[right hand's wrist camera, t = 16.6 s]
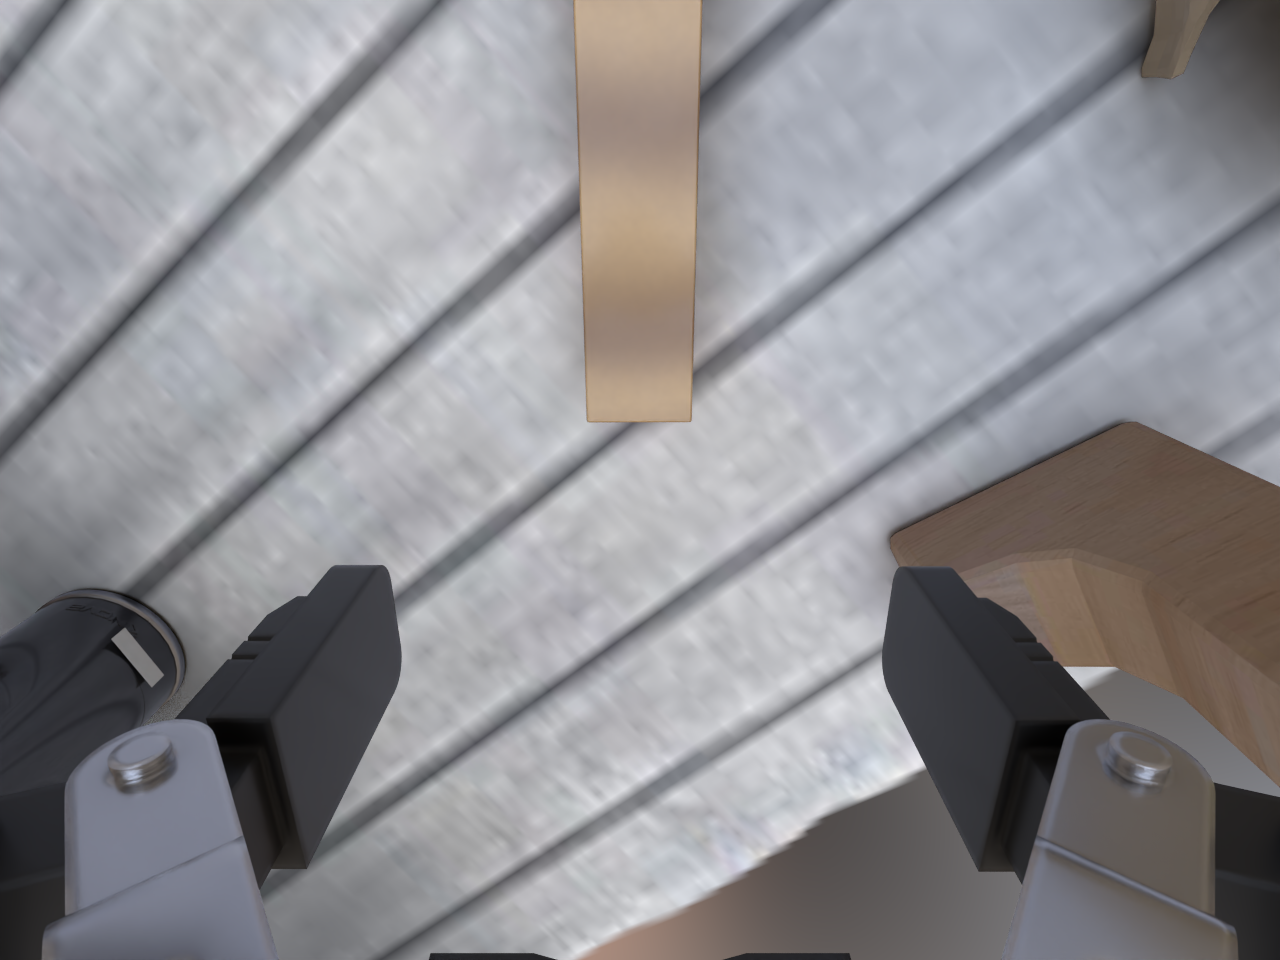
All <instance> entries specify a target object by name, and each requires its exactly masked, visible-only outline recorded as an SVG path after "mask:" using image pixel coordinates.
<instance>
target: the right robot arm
mask: <svg viewBox="0 0 1280 960" xmlns="http://www.w3.org/2000/svg"><path fill="white" fill-rule="evenodd" d="M401 657H402V656H401V644H400V638H399V631H398V624H397V618H396V611H395V604H394V598H393V591H392V584H391V579H390V575H389V572H388V570H387V568H386V567H385V566H383V565H335V566H333V567H331V568H330V569H329V571H328V572H327V573H326V574H325V575H324V577H323V578H322V579H321V580H320V581H319V583H318V584H317V585H316V586H315V587H314V589H313V590H312V591H311V592H310V593H309V595H308V596H297V597H296V598H294V599H292V600H291V601H289V602H288V603H286V604H284V605H283V606H281V607H279V608H278V609H276V610H275V611H273V612H271V613H270V614H268V615H267V616H266V617H265V618H264V619H263V620H262V622H261V623H260V624H259V625H258V626H257V627H256V628H255V629H254V631H253V632H252V633H251V634H250V635H249V636H248V641H244V642H243V643H242V644H241V645H240V646H239V647H238V649H237V650H236V651H235V652H234V653H233V654H232V659H228V660H227V661H226V662H225V663H224V664H223V665H222V666H221V668H220V669H219V670H218V671H217V672H216V673H215V674H214V675H213V677H212V678H211V679H210V680H209V681H208V682H207V683H206V684H205V686H204V687H203V688H202V689H201V690H200V691H199V692H198V693H197V695H196V696H195V697H194V698H193V699H192V700H191V701H190V702H189V704H188V705H187V706H186V707H185V708H184V709H183V710H182V711H181V712H180V714H179V715H178V716H177V717H176V718H175V719H174V720H166V721H160V722H156V723H151V724H148V725H145V726H143V725H144V724H145V723H146V722H147V721H148V720H149V719H150V718H151V717H152V716H153V715H154V714H155V712H156V711H157V710H158V709H160V708H161V707H162V706H164V705H165V704H166V703H167V702H168V701H169V700H170V699H171V698H172V697H173V696H174V694H175V693H176V692H177V691H178V689H179V688H180V686H181V683H182V681H183V678H184V672H185V662H184V656H183V652H182V649H181V647H180V644H179V642H178V640H177V639H176V637H175V635H174V634H173V632H172V631H171V630H170V628H169V627H168V626H167V625H166V624H165V623H164V622H163V621H162V620H161V619H160V618H159V617H158V616H157V615H156V614H155V613H153V612H152V611H151V610H149V609H148V608H146V607H145V606H143V605H141V604H140V603H138V602H136V601H134V600H132V599H129V598H127V597H125V596H122V595H119V594H115V593H112V592H107V591H101V590H77V591H71V592H67V593H65V594H62V595H60V596H57V597H55V598H54V599H52V600H51V601H49V602H48V603H46V604H45V605H43V606H42V607H41V608H40V609H38V610H37V611H36V613H35V614H33V615H32V616H30V617H29V618H28V619H26V620H25V621H23V622H22V623H20V624H19V625H17V626H16V627H14V628H13V629H12V630H10V631H9V632H7V633H6V634H4V635H2V636H1V637H0V960H279V958H278V955H277V951H276V948H275V944H274V941H273V937H272V934H271V930H270V927H269V923H268V920H267V916H266V912H265V909H264V905H263V902H262V898H261V895H260V891H259V890H260V888H261V886H262V885H263V883H264V881H265V879H266V877H267V875H268V874H269V872H270V870H271V869H307V867H308V865H309V863H310V861H311V859H312V857H313V855H314V853H315V851H316V849H317V847H318V845H319V843H320V841H321V839H322V837H323V835H324V833H325V831H326V829H327V827H328V825H329V823H330V821H331V819H332V817H333V815H334V813H335V811H336V809H337V807H338V805H339V803H340V801H341V799H342V797H343V795H344V793H345V791H346V789H347V787H348V785H349V783H350V781H351V779H352V777H353V775H354V773H355V771H356V769H357V766H358V764H359V762H360V760H361V758H362V756H363V754H364V752H365V750H366V748H367V746H368V744H369V742H370V740H371V738H372V736H373V734H374V732H375V730H376V728H377V726H378V724H379V722H380V720H381V718H382V716H383V714H384V712H385V710H386V708H387V706H388V704H389V702H390V700H391V698H392V696H393V694H394V692H395V690H396V687H397V684H398V681H399V677H400V671H401ZM882 667H883V675H884V680H885V684H886V687H887V689H888V692H889V694H890V696H891V698H892V700H893V702H894V704H895V706H896V708H897V710H898V712H899V714H900V716H901V718H902V720H903V722H904V724H905V726H906V728H907V730H908V732H909V734H910V736H911V738H912V740H913V742H914V744H915V746H916V748H917V750H918V752H919V754H920V756H921V758H922V760H923V762H924V764H925V766H926V768H927V770H928V772H929V774H930V776H931V778H932V779H933V781H934V783H935V785H936V787H937V789H938V791H939V793H940V795H941V797H942V799H943V801H944V803H945V805H946V807H947V809H948V811H949V813H950V815H951V817H952V819H953V821H954V823H955V825H956V827H957V829H958V831H959V833H960V835H961V837H962V839H963V841H964V843H965V845H966V847H967V849H968V851H969V853H970V855H971V857H972V859H973V861H974V863H975V865H976V867H977V869H978V871H979V872H1015V873H1016V875H1017V877H1018V878H1019V880H1020V882H1021V884H1022V888H1021V892H1020V895H1019V898H1018V902H1017V905H1016V909H1015V912H1014V916H1013V920H1012V923H1011V927H1010V930H1009V934H1008V937H1007V941H1006V944H1005V948H1004V951H1003V955H1002V958H1001V960H1280V797H1276V796H1272V795H1267V794H1263V793H1258V792H1253V791H1249V790H1244V789H1240V788H1235V787H1231V786H1226V785H1222V784H1218V783H1214V782H1213V781H1212V779H1211V776H1210V775H1209V774H1208V772H1207V771H1206V769H1205V768H1204V767H1203V766H1202V765H1201V764H1200V763H1199V762H1198V761H1197V760H1196V759H1195V758H1194V757H1193V756H1192V755H1190V754H1189V753H1188V752H1187V751H1185V750H1184V749H1182V748H1181V747H1180V746H1178V745H1177V744H1175V743H1173V742H1172V741H1170V740H1168V739H1166V738H1164V737H1162V736H1160V735H1158V734H1156V733H1154V732H1152V731H1149V730H1147V729H1144V728H1141V727H1138V726H1135V725H1132V724H1129V723H1124V722H1119V721H1113V720H1110V719H1109V718H1108V717H1107V716H1106V715H1105V713H1104V712H1103V711H1102V710H1101V709H1100V708H1099V707H1098V706H1097V705H1096V703H1095V702H1094V701H1093V700H1092V699H1091V698H1090V697H1089V696H1088V695H1087V693H1086V692H1085V691H1084V690H1083V689H1082V688H1081V687H1080V686H1079V685H1078V683H1077V682H1076V681H1075V680H1074V679H1073V678H1072V677H1071V676H1070V674H1069V673H1068V672H1067V671H1066V670H1065V669H1064V668H1063V667H1062V666H1061V664H1060V663H1059V662H1058V661H1054V660H1053V656H1052V654H1051V653H1050V652H1049V651H1048V650H1047V649H1046V648H1045V647H1044V646H1043V644H1042V643H1037V638H1036V637H1035V636H1034V634H1033V633H1032V632H1031V631H1030V630H1029V629H1028V628H1027V627H1026V626H1025V624H1024V623H1023V622H1022V621H1021V620H1020V619H1019V618H1018V617H1017V616H1016V615H1014V614H1013V613H1011V612H1009V611H1008V610H1006V609H1004V608H1003V607H1001V606H1000V605H998V604H996V603H995V602H993V601H991V600H990V599H988V598H977V596H976V595H975V594H974V593H973V592H972V590H971V589H970V588H969V587H968V586H967V584H966V583H965V582H964V581H963V580H962V579H961V577H960V576H959V575H958V574H957V573H956V571H955V570H954V569H953V568H951V567H948V566H901V567H899V568H898V569H897V571H896V573H895V575H894V579H893V584H892V591H891V597H890V604H889V611H888V617H887V624H886V630H885V637H884V643H883V651H882ZM429 960H556V959H552V958H549V957H545V956H541V955H538V954H534V953H431V954H430V958H429ZM724 960H851V958H850V954H849V953H746V954H742V955H739V956H735V957H731V958H728V959H724Z"/></svg>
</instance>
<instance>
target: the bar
mask: <svg viewBox="0 0 1280 960" xmlns="http://www.w3.org/2000/svg"><path fill="white" fill-rule="evenodd" d="M573 5H574V36H575V67H576V98H577V129H578V160H579V191H580V223H581V254H582V285H583V316H584V347H585V378H586V409H587V422H691V420H692V384H693V345H694V306H695V268H696V229H697V190H698V151H699V112H700V73H701V34H702V0H573Z"/></svg>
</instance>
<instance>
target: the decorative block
mask: <svg viewBox="0 0 1280 960" xmlns="http://www.w3.org/2000/svg"><path fill="white" fill-rule="evenodd" d="M890 542H891V550H892V552H893V554H894V556H895V558H896V560H897V562H898V564H899V566H900V567H901V566H948V567H951V568H953V569H954V570H955V571H956V573H957V574H958V575H959V576H960V577H961V579H962V580H963V581H964V582H965V583H966V584H967V586H968V587H969V588H970V589H971V590H972V592H973V593H974V594H975V595H976V596H977V598H988V599H990V600H991V601H993V602H995V603H996V604H998V605H1000V606H1001V607H1003V608H1004V609H1006V610H1008V611H1009V612H1011V613H1013V614H1014V615H1016V616H1017V617H1018V618H1019V619H1020V620H1021V621H1022V622H1023V623H1024V624H1025V626H1026V627H1027V628H1028V629H1029V630H1030V631H1031V632H1032V633H1033V634H1034V636H1035V637H1036V638H1037V643H1042V644H1043V646H1044V647H1045V648H1046V649H1047V650H1048V651H1049V652H1050V653H1051V654H1052V656H1053V660H1054V661H1058V662H1059V663H1060V664H1061V666H1067V667H1117V668H1119V669H1121V670H1123V671H1125V672H1128V673H1130V674H1132V675H1134V676H1136V677H1138V678H1141V679H1143V680H1145V681H1147V682H1149V683H1152V684H1154V685H1156V686H1158V687H1160V688H1162V689H1165V690H1167V691H1169V692H1171V693H1173V694H1175V695H1178V696H1180V697H1182V698H1184V699H1185V700H1186V701H1187V702H1188V703H1189V704H1190V705H1191V706H1192V707H1193V708H1194V709H1195V710H1197V711H1198V712H1199V713H1200V714H1201V715H1202V716H1203V717H1204V718H1205V719H1206V720H1207V721H1208V722H1210V723H1211V724H1212V725H1213V726H1214V727H1215V728H1216V729H1217V730H1218V731H1219V732H1220V733H1221V734H1223V735H1224V736H1225V737H1226V738H1227V739H1228V740H1229V741H1230V742H1231V743H1232V744H1233V745H1234V746H1236V747H1237V748H1238V749H1239V750H1240V751H1241V752H1242V753H1243V754H1244V755H1245V756H1246V757H1247V758H1248V759H1250V760H1251V761H1252V762H1253V763H1254V764H1255V765H1256V766H1257V767H1258V768H1259V769H1260V770H1261V771H1263V772H1264V773H1265V774H1266V775H1267V776H1268V777H1269V778H1270V779H1271V780H1272V781H1273V782H1274V783H1275V784H1277V785H1278V786H1279V787H1280V487H1279V486H1276V485H1274V484H1272V483H1270V482H1268V481H1265V480H1263V479H1261V478H1259V477H1257V476H1254V475H1252V474H1250V473H1248V472H1246V471H1243V470H1241V469H1239V468H1237V467H1235V466H1232V465H1230V464H1228V463H1226V462H1224V461H1221V460H1219V459H1217V458H1215V457H1213V456H1210V455H1208V454H1206V453H1204V452H1202V451H1199V450H1197V449H1195V448H1193V447H1191V446H1188V445H1186V444H1184V443H1182V442H1180V441H1177V440H1175V439H1173V438H1171V437H1169V436H1166V435H1164V434H1162V433H1160V432H1158V431H1155V430H1153V429H1151V428H1149V427H1147V426H1144V425H1142V424H1140V423H1138V422H1128V423H1122V424H1120V425H1118V426H1116V427H1114V428H1112V429H1110V430H1108V431H1106V432H1104V433H1102V434H1100V435H1098V436H1095V437H1093V438H1091V439H1089V440H1087V441H1085V442H1083V443H1081V444H1079V445H1077V446H1075V447H1073V448H1071V449H1069V450H1067V451H1064V452H1062V453H1060V454H1058V455H1056V456H1054V457H1052V458H1050V459H1048V460H1046V461H1044V462H1042V463H1040V464H1038V465H1036V466H1033V467H1031V468H1029V469H1027V470H1025V471H1023V472H1021V473H1019V474H1017V475H1015V476H1013V477H1011V478H1009V479H1007V480H1005V481H1003V482H1000V483H998V484H996V485H994V486H992V487H990V488H988V489H986V490H984V491H982V492H980V493H978V494H976V495H974V496H971V497H969V498H967V499H965V500H963V501H961V502H959V503H957V504H955V505H953V506H951V507H949V508H947V509H945V510H943V511H940V512H938V513H936V514H934V515H932V516H930V517H928V518H926V519H924V520H922V521H920V522H918V523H916V524H914V525H911V526H909V527H907V528H905V529H903V530H901V531H899V532H897V533H895V534H894V535H893V536H892V537H891V538H890Z"/></svg>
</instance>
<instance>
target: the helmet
mask: <svg viewBox="0 0 1280 960" xmlns="http://www.w3.org/2000/svg"><path fill="white" fill-rule="evenodd" d="M1219 1H1220V0H1156V11H1155V26H1154V36H1153V39H1152V41H1151V44H1150V47H1149V50H1148V52H1147V55H1146V58H1145V61H1144V63H1143V66H1142V77H1159V78H1167V79H1172V78H1174V77H1177V76H1179V75H1181V74H1183V73H1184V71H1185V68H1186V66H1187V63H1188V61H1189V58H1190V56H1191V53H1192V51H1193V49H1194V47H1195V45H1196V43H1197V40H1198V38H1199V36H1200V34H1201V32H1202V29H1203V27H1204V25H1205V23H1206V21H1207V19H1208V16H1209V14H1210V13H1211V12H1212V10H1213V9H1214V8H1215V6H1216V5H1217V4H1218V2H1219Z"/></svg>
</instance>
